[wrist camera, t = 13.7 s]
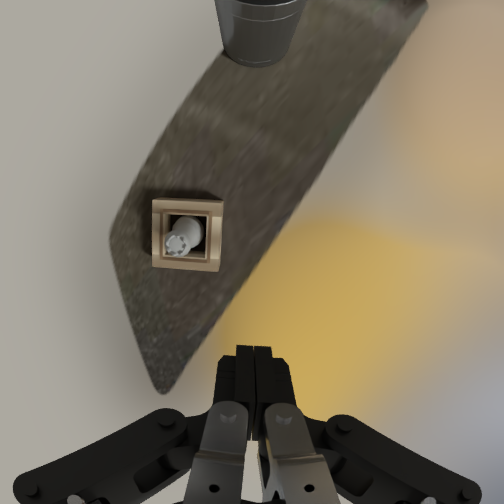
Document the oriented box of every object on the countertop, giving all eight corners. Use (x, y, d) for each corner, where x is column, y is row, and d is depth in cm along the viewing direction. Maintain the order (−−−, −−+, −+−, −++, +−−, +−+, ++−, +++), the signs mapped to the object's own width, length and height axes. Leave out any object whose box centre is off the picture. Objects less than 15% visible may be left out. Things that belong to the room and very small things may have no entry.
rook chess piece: (168, 238, 40) (151, 254, 33) (180, 209, 39) (165, 219, 32) (197, 251, 41) (186, 270, 33) (210, 223, 40) (201, 236, 32)
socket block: (159, 197, 39) (152, 199, 36) (223, 200, 39) (221, 203, 36) (158, 259, 41) (152, 266, 38) (219, 264, 42) (218, 272, 39)
